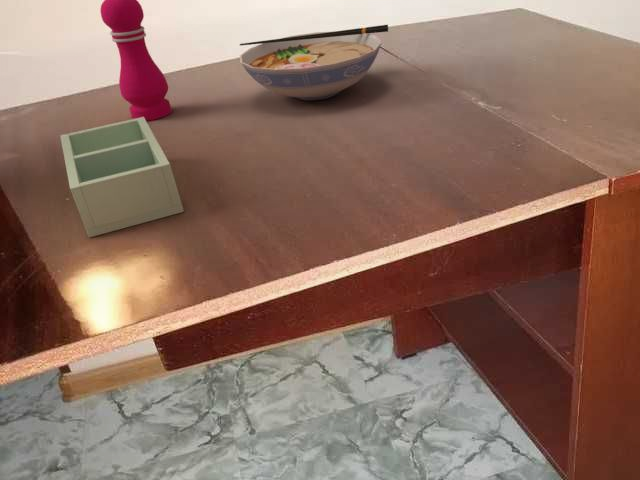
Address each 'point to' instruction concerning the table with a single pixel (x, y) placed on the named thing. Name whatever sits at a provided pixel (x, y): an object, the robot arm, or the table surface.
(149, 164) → the green divided box
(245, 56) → the ramen bowl
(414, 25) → the table surface
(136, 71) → the pepper mill
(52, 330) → the table surface
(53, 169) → the table surface
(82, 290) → the table surface
